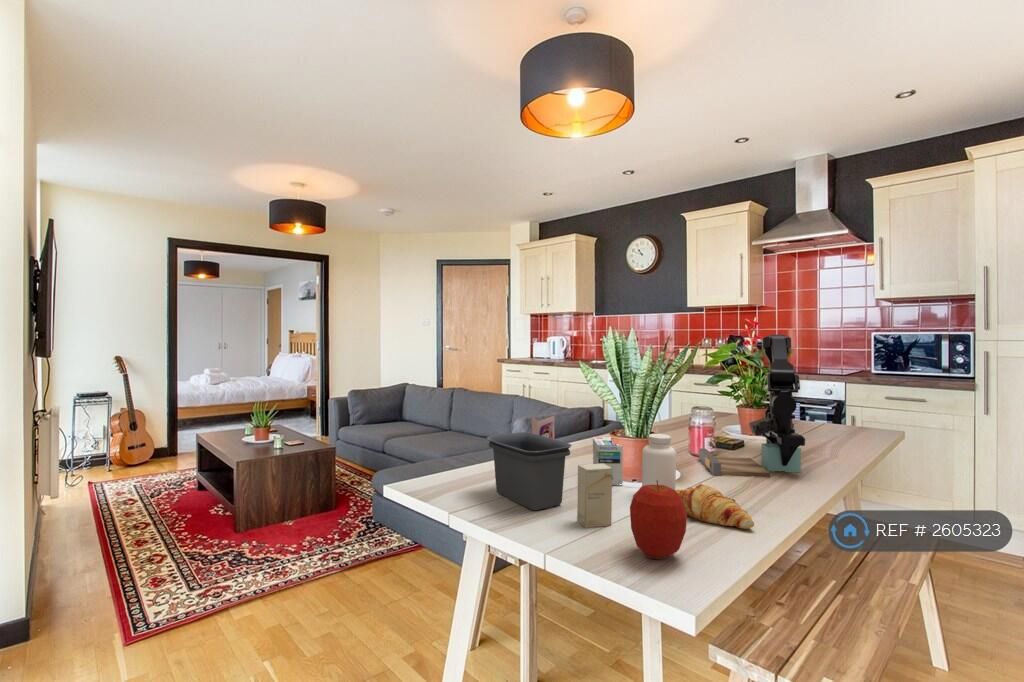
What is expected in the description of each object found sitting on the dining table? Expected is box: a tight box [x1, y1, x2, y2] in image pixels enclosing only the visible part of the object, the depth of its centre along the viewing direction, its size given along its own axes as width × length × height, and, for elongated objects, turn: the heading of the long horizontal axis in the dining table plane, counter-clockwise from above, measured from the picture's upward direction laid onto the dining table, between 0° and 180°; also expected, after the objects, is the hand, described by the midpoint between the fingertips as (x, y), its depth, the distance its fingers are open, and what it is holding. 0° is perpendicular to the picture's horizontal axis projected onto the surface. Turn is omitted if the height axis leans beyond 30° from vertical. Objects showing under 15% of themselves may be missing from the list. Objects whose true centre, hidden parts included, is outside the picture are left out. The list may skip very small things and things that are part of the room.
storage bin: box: [486, 431, 573, 511], centre depth 123 cm, size 21×16×14 cm
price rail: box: [698, 447, 722, 477], centre depth 151 cm, size 18×2×4 cm, turn 172°
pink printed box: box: [531, 414, 555, 439], centre depth 150 cm, size 11×7×15 cm, turn 150°
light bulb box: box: [592, 436, 624, 486], centre depth 138 cm, size 11×7×11 cm, turn 179°
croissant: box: [675, 483, 755, 530], centre depth 111 cm, size 21×10×8 cm, turn 35°
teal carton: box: [761, 443, 802, 473], centre depth 148 cm, size 5×9×7 cm, turn 82°
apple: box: [629, 480, 688, 560], centre depth 91 cm, size 10×10×14 cm
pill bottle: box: [641, 433, 677, 490], centre depth 124 cm, size 8×8×15 cm
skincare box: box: [576, 463, 613, 529], centre depth 107 cm, size 6×4×12 cm
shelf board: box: [714, 456, 771, 478], centre depth 150 cm, size 17×13×1 cm
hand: (780, 463), depth 148 cm, fingers closed on teal carton, 5 cm apart
